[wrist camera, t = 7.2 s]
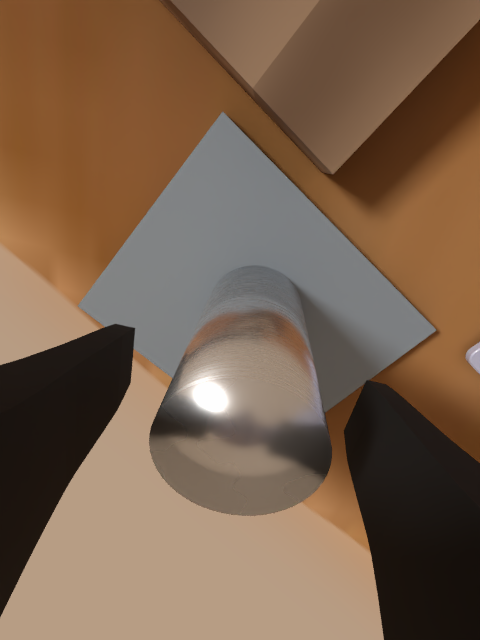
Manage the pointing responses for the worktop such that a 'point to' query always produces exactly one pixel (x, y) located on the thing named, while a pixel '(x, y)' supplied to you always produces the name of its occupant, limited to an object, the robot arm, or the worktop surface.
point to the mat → (245, 250)
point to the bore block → (327, 59)
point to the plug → (245, 402)
